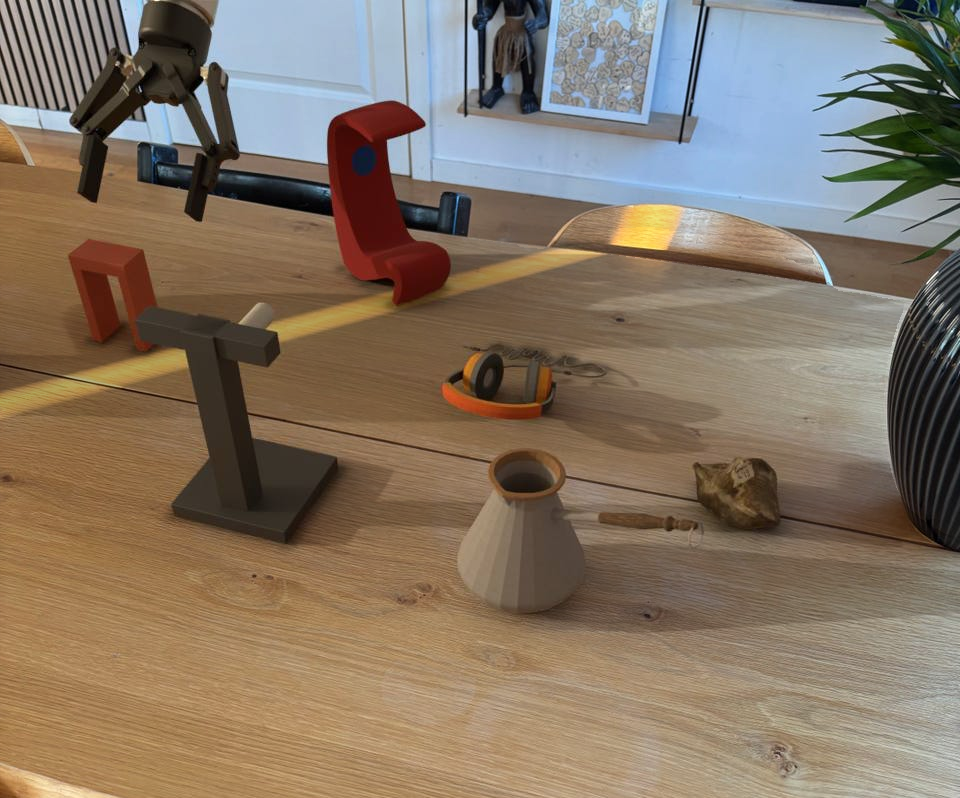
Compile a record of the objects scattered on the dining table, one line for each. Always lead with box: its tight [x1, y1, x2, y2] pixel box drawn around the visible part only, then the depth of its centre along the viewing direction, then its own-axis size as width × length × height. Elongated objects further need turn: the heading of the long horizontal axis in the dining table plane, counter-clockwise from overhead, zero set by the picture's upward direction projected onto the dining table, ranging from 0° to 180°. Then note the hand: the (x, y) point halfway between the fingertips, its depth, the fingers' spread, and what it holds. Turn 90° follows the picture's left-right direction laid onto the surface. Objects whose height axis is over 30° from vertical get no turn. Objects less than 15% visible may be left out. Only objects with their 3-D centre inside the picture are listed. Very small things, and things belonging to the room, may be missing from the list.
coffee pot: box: [456, 447, 705, 614], centre depth 85 cm, size 21×12×15 cm, turn 55°
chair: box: [326, 99, 452, 306], centre depth 121 cm, size 15×7×20 cm, turn 39°
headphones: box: [441, 343, 607, 421], centre depth 110 cm, size 17×5×20 cm
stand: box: [135, 302, 339, 545], centre depth 93 cm, size 12×12×20 cm
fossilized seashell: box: [692, 456, 782, 530], centre depth 98 cm, size 8×7×10 cm
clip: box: [67, 238, 158, 353], centre depth 115 cm, size 7×4×10 cm, turn 71°
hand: (139, 207), depth 115 cm, fingers open, 13 cm apart
